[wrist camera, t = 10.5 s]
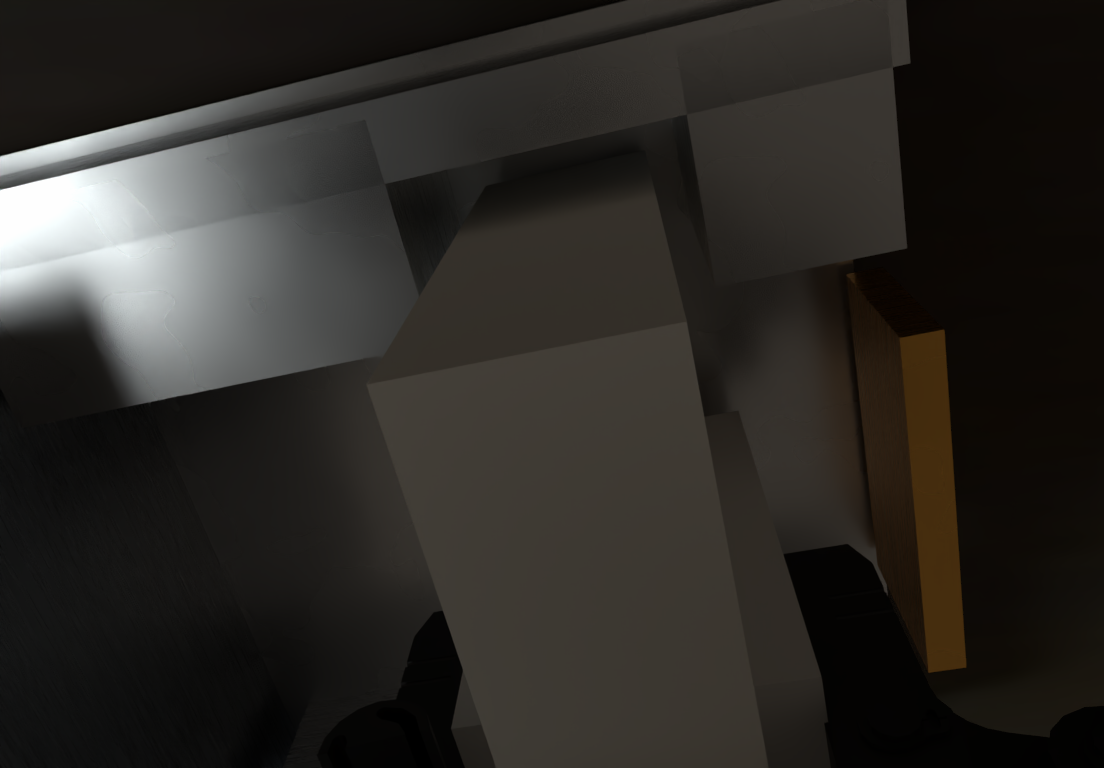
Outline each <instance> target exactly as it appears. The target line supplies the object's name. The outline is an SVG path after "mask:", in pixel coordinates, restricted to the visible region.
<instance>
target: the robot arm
mask: <svg viewBox="0 0 1104 768" xmlns="http://www.w3.org/2000/svg"><path fill="white" fill-rule="evenodd" d="M704 418H705V424H706V429H707V435H708V440H709V445H710V451H711V456H712V462H713V467H714V473H715V478H716V484H717V489H718V494H719V500H720V505H721V511H722V516H723V522H724V527H725V532H726V538H727V543H728V549H729V554H730V560H731V565H732V571H733V576H734V581H735V587H736V592H737V598H738V603H739V609H740V614H741V620H742V625H743V630H744V636H745V641H746V647H747V652H748V658H749V663H750V669H751V674H752V679H753V685H754V690H755V696H756V701H757V707H758V712H759V718H760V723H761V728H762V734H763V739H764V745H765V750H766V756H767V761H768V767H769V768H1104V706H1098V707H1084V708H1082V709H1079V710H1077V711H1075V712H1072V713H1070V714H1067V715H1065V716H1063V717H1062V718H1061V719H1060V720H1059V722H1058V723H1057V724H1056V725H1055V726H1054V727H1053V728H1052V730H1051V731H1050V738H1048V737H1040V736H1031V735H1023V734H1015V733H1007V732H1002V731H997V730H992V729H987V728H984V727H982V726H979V725H977V724H974V723H971V722H969V721H966V720H965V719H963V718H961V717H960V716H958V715H956V714H955V713H953V711H952V710H951V708H949V707H948V706H947V705H945V704H944V703H943V702H941V701H940V700H939V699H938V698H937V697H936V696H935V694H934V693H933V691H932V690H931V688H930V686H929V684H928V682H927V680H926V678H925V676H924V673H923V671H922V669H921V667H920V665H919V663H918V660H917V658H916V656H915V654H914V652H913V650H912V647H911V645H910V643H909V641H908V639H907V637H906V634H905V632H904V630H903V628H902V626H901V624H900V622H899V619H898V617H897V615H896V613H894V610H893V606H892V604H891V602H890V600H889V598H888V596H887V593H886V592H885V591H884V587H883V585H882V583H881V580H880V578H879V576H878V574H877V572H876V570H875V567H874V565H873V563H872V562H871V561H869V560H868V559H867V558H866V557H864V556H863V555H862V554H860V553H859V552H858V551H856V550H855V549H854V548H852V547H851V546H850V545H849V544H843V545H837V546H831V547H824V548H818V549H812V550H805V551H799V552H793V553H787V554H783V552H782V549H781V546H780V542H779V539H778V536H777V533H776V530H775V526H774V523H773V520H772V517H771V514H770V510H769V507H768V504H767V501H766V498H765V494H764V491H763V488H762V485H761V482H760V478H759V475H758V472H757V469H756V466H755V462H754V459H753V456H752V453H751V450H750V446H749V443H748V440H747V437H746V434H745V430H744V427H743V424H742V421H741V418H740V414H739V411H733V412H727V413H722V414H716V415H711V416H705V417H704ZM317 757H318V759H319V762H320V764H321V766H322V768H496V766H495V763H494V760H493V757H492V754H491V751H490V748H489V745H488V742H487V739H486V736H485V733H484V730H483V727H482V724H481V721H480V718H479V715H478V713H477V710H476V707H475V704H474V701H473V698H472V695H471V692H470V689H469V686H468V683H467V680H466V677H465V674H464V671H463V668H462V665H461V662H460V659H459V656H458V654H457V651H456V648H455V645H454V642H453V639H452V636H451V633H450V630H449V627H448V624H447V621H446V618H445V615H444V612H443V611H437V612H433V614H432V615H431V616H430V617H429V619H428V620H427V621H426V622H425V624H424V625H423V626H422V627H421V629H420V630H419V631H418V632H417V634H416V635H415V636H414V639H413V643H412V646H411V649H410V653H409V656H408V660H407V667H405V670H404V673H403V677H402V680H401V688H399V691H398V694H397V698H396V700H386V701H378V702H376V703H373V704H370V705H368V706H365V707H362V708H360V709H358V710H356V711H355V712H353V713H352V714H350V715H349V716H347V717H346V718H344V719H343V720H341V721H340V722H339V723H338V724H337V725H336V726H335V727H334V728H333V729H332V730H331V731H330V733H329V734H328V735H327V736H326V737H325V738H324V740H323V743H322V745H321V747H320V749H319V752H318V754H317Z"/></svg>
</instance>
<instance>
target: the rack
mask: <svg viewBox="0 0 1104 768" xmlns="http://www.w3.org/2000/svg"><path fill="white" fill-rule="evenodd" d="M909 63H910V49H909V35H908V21H907V8H906V0H622V1H618V2H614V3H610V4H606V5H602V6H598V7H594V8H590V9H586V10H582V11H578V12H574V13H570V14H566V15H562V16H558V17H554V18H550V19H546V20H542V21H538V22H534V23H530V24H526V25H522V26H518V27H514V28H510V29H506V30H502V31H498V32H494V33H490V34H486V35H482V36H478V37H474V38H470V39H466V40H462V41H458V42H454V43H450V44H446V45H442V46H438V47H434V48H430V49H426V50H422V51H418V52H414V53H410V54H406V55H402V56H398V57H394V58H389V59H385V60H381V61H377V62H373V63H369V64H365V65H361V66H357V67H353V68H349V69H345V70H341V71H337V72H333V73H329V74H325V75H321V76H317V77H313V78H309V79H305V80H301V81H297V82H293V83H289V84H285V85H281V86H277V87H273V88H269V89H265V90H261V91H257V92H253V93H249V94H245V95H241V96H237V97H233V98H229V99H225V100H221V101H217V102H213V103H209V104H205V105H201V106H197V107H193V108H189V109H185V110H181V111H177V112H173V113H169V114H165V115H161V116H157V117H153V118H149V119H145V120H141V121H137V122H133V123H129V124H125V125H121V126H117V127H113V128H109V129H105V130H101V131H97V132H93V133H89V134H85V135H81V136H77V137H73V138H69V139H65V140H61V141H57V142H53V143H49V144H45V145H41V146H37V147H33V148H29V149H25V150H21V151H17V152H13V153H9V154H5V155H1V156H0V768H322V766H321V764H320V762H319V759H318V757H317V754H318V752H319V749H320V747H321V745H322V743H323V740H324V738H325V737H326V736H327V735H328V734H329V733H330V731H331V730H332V729H333V728H334V727H335V726H336V725H337V724H338V723H339V722H340V721H341V720H343V719H344V718H346V717H347V716H349V715H350V714H352V713H353V712H355V711H356V710H358V709H360V708H362V707H365V706H368V705H370V704H373V703H376V702H378V701H386V700H396V698H397V694H398V691H399V688H401V680H402V677H403V673H404V670H405V667H407V660H408V656H409V653H410V649H411V646H412V643H413V639H414V636H415V635H416V634H417V632H418V631H419V630H420V629H421V627H422V626H423V625H424V624H425V622H426V621H427V620H428V619H429V617H430V616H431V615H432V614H433V612H437V611H443V609H442V606H441V603H440V600H439V597H438V594H437V592H436V589H435V586H434V583H433V580H432V577H431V574H430V571H429V568H428V565H427V562H426V559H425V556H424V553H423V550H422V547H421V544H420V541H419V538H418V535H417V532H416V530H415V527H414V524H413V521H412V518H411V515H410V512H409V509H408V506H407V503H406V500H405V497H404V494H403V491H402V488H401V485H400V482H399V479H398V476H397V473H396V470H395V468H394V465H393V462H392V459H391V456H390V453H389V450H388V447H387V444H386V441H385V438H384V435H383V432H382V429H381V426H380V423H379V420H378V417H377V414H376V411H375V409H374V406H373V403H372V400H371V397H370V394H369V391H368V388H367V383H368V381H369V380H370V378H371V376H372V375H373V373H374V371H375V370H376V368H377V366H378V365H379V363H380V361H381V360H382V358H383V356H384V355H385V353H386V351H387V350H388V348H389V346H390V345H391V343H392V341H393V340H394V338H395V336H396V335H397V333H398V331H399V330H400V328H401V326H402V325H403V323H404V321H405V320H406V318H407V316H408V315H409V313H410V311H411V310H412V308H413V306H414V305H415V303H416V301H417V300H418V298H419V296H420V295H421V293H422V291H423V290H424V288H425V286H426V285H427V283H428V281H429V280H430V278H431V276H432V275H433V273H434V271H435V270H436V268H437V266H438V265H439V263H440V261H441V260H442V258H443V256H444V255H445V253H446V251H447V250H448V248H449V246H450V245H451V243H452V241H453V240H454V238H455V236H456V235H457V233H458V231H459V230H460V228H461V226H462V225H463V223H464V221H465V220H466V218H467V216H468V215H469V213H470V211H471V210H472V208H473V206H474V205H475V203H476V201H477V200H478V198H479V196H480V195H481V193H482V191H483V190H484V188H485V186H487V185H492V184H496V183H501V182H505V181H509V180H514V179H518V178H523V177H527V176H532V175H536V174H540V173H545V172H549V171H554V170H558V169H563V168H567V167H572V166H576V165H580V164H585V163H589V162H594V161H598V160H603V159H607V158H612V157H616V156H620V155H625V154H629V153H634V152H638V151H643V150H645V153H646V157H647V161H648V165H649V169H650V173H651V177H652V182H653V186H654V190H655V194H656V198H657V202H658V206H659V210H660V214H661V218H662V222H663V227H664V231H665V235H666V239H667V243H668V247H669V251H670V255H671V259H672V263H673V267H674V271H675V276H676V280H677V284H678V288H679V292H680V296H681V300H682V304H683V308H684V312H685V316H686V321H687V326H688V331H689V337H690V342H691V347H692V353H693V358H694V364H695V369H696V375H697V380H698V386H699V391H700V396H701V402H702V407H703V413H704V417H705V416H711V415H716V414H722V413H727V412H733V411H739V414H740V418H741V421H742V424H743V427H744V430H745V434H746V437H747V440H748V443H749V446H750V450H751V453H752V456H753V459H754V462H755V466H756V469H757V472H758V475H759V478H760V482H761V485H762V488H763V491H764V494H765V498H766V501H767V504H768V507H769V510H770V514H771V517H772V520H773V523H774V526H775V530H776V533H777V536H778V539H779V542H780V546H781V549H782V552H783V554H787V553H793V552H799V551H805V550H812V549H818V548H824V547H831V546H837V545H843V544H849V545H850V546H851V547H852V548H854V549H855V550H856V551H858V552H859V553H860V554H862V555H863V556H864V557H866V558H867V559H868V560H869V561H871V562H872V563H873V565H874V567H875V570H876V572H877V574H878V576H879V578H880V580H881V583H882V585H883V587H884V591H885V592H886V593H887V596H888V592H887V586H888V588H889V591H890V593H891V595H892V597H893V599H894V601H895V603H896V605H897V607H898V609H899V612H900V614H901V616H902V618H903V620H904V622H905V624H906V626H907V628H908V631H909V633H910V635H911V637H912V639H913V641H914V643H915V645H916V647H917V649H918V652H919V654H920V656H921V658H922V660H923V662H924V664H925V666H926V668H927V671H928V673H930V672H937V671H944V670H952V669H959V668H966V653H965V638H964V623H963V607H962V592H961V577H960V561H959V546H958V530H957V515H956V500H955V484H954V469H953V454H952V438H951V423H950V408H949V392H948V377H947V362H946V346H945V331H944V329H943V328H942V327H941V326H940V325H939V324H938V323H937V322H936V321H935V320H934V319H933V318H932V316H931V315H930V314H929V313H928V312H927V311H926V310H925V309H924V308H923V307H922V306H921V305H920V304H919V303H918V302H917V301H916V300H915V299H914V298H913V297H912V296H911V295H910V294H909V293H908V292H907V291H906V290H905V289H904V288H903V287H902V286H901V285H900V284H899V283H898V282H897V281H896V280H895V279H894V278H893V277H892V276H891V275H890V274H889V273H888V272H887V271H886V270H885V269H884V268H883V267H880V268H875V269H870V270H865V271H860V272H855V273H854V266H853V259H857V258H862V257H867V256H872V255H877V254H882V253H887V252H892V251H897V250H902V249H907V240H906V228H905V215H904V203H903V190H902V177H901V165H900V152H899V140H898V127H897V114H896V102H895V89H894V77H893V67H896V66H900V65H905V64H909Z"/></svg>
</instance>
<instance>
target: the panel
mask: <svg viewBox="0 0 1104 768" xmlns="http://www.w3.org/2000/svg"><path fill="white" fill-rule="evenodd" d="M367 388H368V391H369V394H370V397H371V400H372V403H373V406H374V409H375V411H376V414H377V417H378V420H379V423H380V426H381V429H382V432H383V435H384V438H385V441H386V444H387V447H388V450H389V453H390V456H391V459H392V462H393V465H394V468H395V470H396V473H397V476H398V479H399V482H400V485H401V488H402V491H403V494H404V497H405V500H406V503H407V506H408V509H409V512H410V515H411V518H412V521H413V524H414V527H415V530H416V532H417V535H418V538H419V541H420V544H421V547H422V550H423V553H424V556H425V559H426V562H427V565H428V568H429V571H430V574H431V577H432V580H433V583H434V586H435V589H436V592H437V594H438V597H439V600H440V603H441V606H442V609H443V612H444V615H445V618H446V621H447V624H448V627H449V630H450V633H451V636H452V639H453V642H454V645H455V648H456V651H457V654H458V656H459V659H460V662H461V665H462V668H463V671H464V674H465V677H466V680H467V683H468V686H469V689H470V692H471V695H472V698H473V701H474V704H475V707H476V710H477V713H478V715H479V718H480V721H481V724H482V727H483V730H484V733H485V736H486V739H487V742H488V745H489V748H490V751H491V754H492V757H493V760H494V763H495V766H496V768H769V767H768V761H767V756H766V750H765V745H764V739H763V734H762V728H761V723H760V718H759V712H758V707H757V701H756V696H755V690H754V685H753V679H752V674H751V669H750V663H749V658H748V652H747V647H746V641H745V636H744V630H743V625H742V620H741V614H740V609H739V603H738V598H737V592H736V587H735V581H734V576H733V571H732V565H731V560H730V554H729V549H728V543H727V538H726V532H725V527H724V522H723V516H722V511H721V505H720V500H719V494H718V489H717V484H716V478H715V473H714V467H713V462H712V456H711V451H710V445H709V440H708V435H707V429H706V424H705V418H704V413H703V407H702V402H701V396H700V391H699V386H698V380H697V375H696V369H695V364H694V358H693V353H692V347H691V342H690V337H689V331H688V326H687V321H686V316H685V312H684V308H683V304H682V300H681V296H680V292H679V288H678V284H677V280H676V276H675V271H674V267H673V263H672V259H671V255H670V251H669V247H668V243H667V239H666V235H665V231H664V227H663V222H662V218H661V214H660V210H659V206H658V202H657V198H656V194H655V190H654V186H653V182H652V177H651V173H650V169H649V165H648V161H647V157H646V153H645V150H643V151H638V152H634V153H629V154H625V155H620V156H616V157H612V158H607V159H603V160H598V161H594V162H589V163H585V164H580V165H576V166H572V167H567V168H563V169H558V170H554V171H549V172H545V173H540V174H536V175H532V176H527V177H523V178H518V179H514V180H509V181H505V182H501V183H496V184H492V185H487V186H485V188H484V190H483V191H482V193H481V195H480V196H479V198H478V200H477V201H476V203H475V205H474V206H473V208H472V210H471V211H470V213H469V215H468V216H467V218H466V220H465V221H464V223H463V225H462V226H461V228H460V230H459V231H458V233H457V235H456V236H455V238H454V240H453V241H452V243H451V245H450V246H449V248H448V250H447V251H446V253H445V255H444V256H443V258H442V260H441V261H440V263H439V265H438V266H437V268H436V270H435V271H434V273H433V275H432V276H431V278H430V280H429V281H428V283H427V285H426V286H425V288H424V290H423V291H422V293H421V295H420V296H419V298H418V300H417V301H416V303H415V305H414V306H413V308H412V310H411V311H410V313H409V315H408V316H407V318H406V320H405V321H404V323H403V325H402V326H401V328H400V330H399V331H398V333H397V335H396V336H395V338H394V340H393V341H392V343H391V345H390V346H389V348H388V350H387V351H386V353H385V355H384V356H383V358H382V360H381V361H380V363H379V365H378V366H377V368H376V370H375V371H374V373H373V375H372V376H371V378H370V380H369V381H368V383H367Z"/></svg>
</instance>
